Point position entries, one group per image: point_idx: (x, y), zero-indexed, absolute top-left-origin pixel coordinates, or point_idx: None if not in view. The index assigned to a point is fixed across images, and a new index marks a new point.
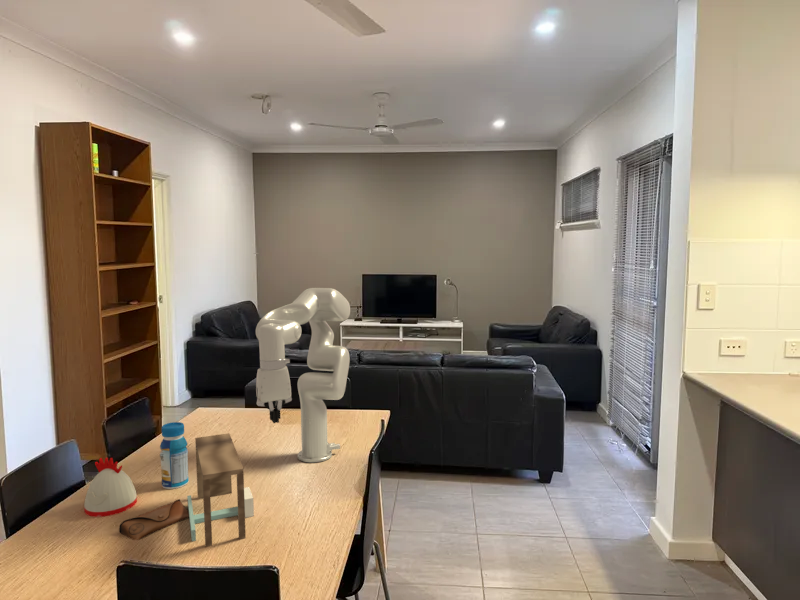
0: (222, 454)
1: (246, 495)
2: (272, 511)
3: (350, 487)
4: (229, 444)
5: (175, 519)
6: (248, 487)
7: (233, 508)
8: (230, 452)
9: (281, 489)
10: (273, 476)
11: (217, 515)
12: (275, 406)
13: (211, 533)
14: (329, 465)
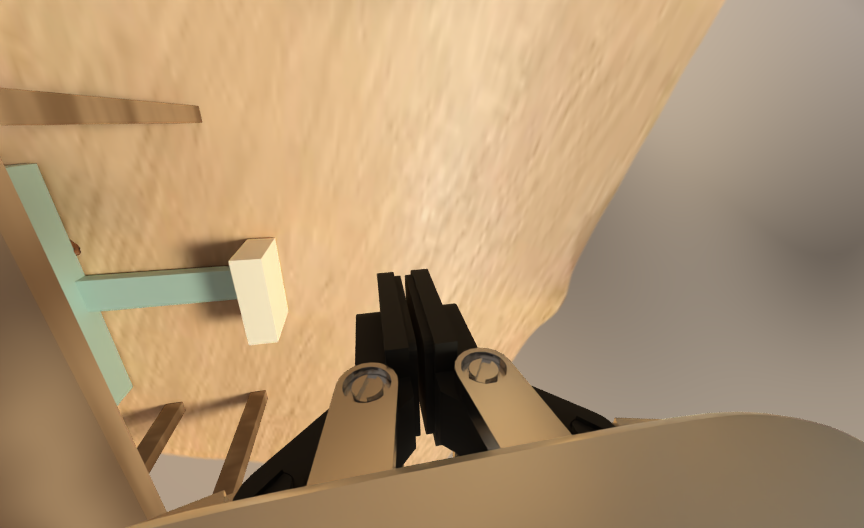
0: (36, 507)
1: (253, 320)
2: (342, 296)
3: (569, 233)
4: (36, 373)
5: None
6: (259, 264)
7: (220, 279)
8: (87, 490)
9: (388, 164)
10: (377, 21)
11: (170, 304)
12: (447, 398)
13: (169, 436)
14: (597, 23)
